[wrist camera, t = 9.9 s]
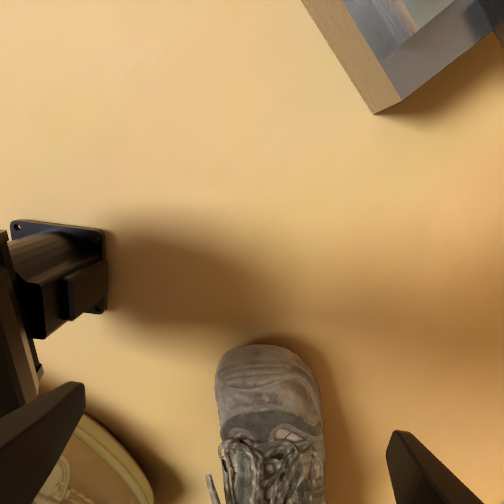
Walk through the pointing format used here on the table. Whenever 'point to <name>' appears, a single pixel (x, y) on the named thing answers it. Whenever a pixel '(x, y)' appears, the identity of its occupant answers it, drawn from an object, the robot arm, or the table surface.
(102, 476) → the boat shoe
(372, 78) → the block
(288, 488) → the hiking shoe
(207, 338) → the table surface
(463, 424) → the table surface
